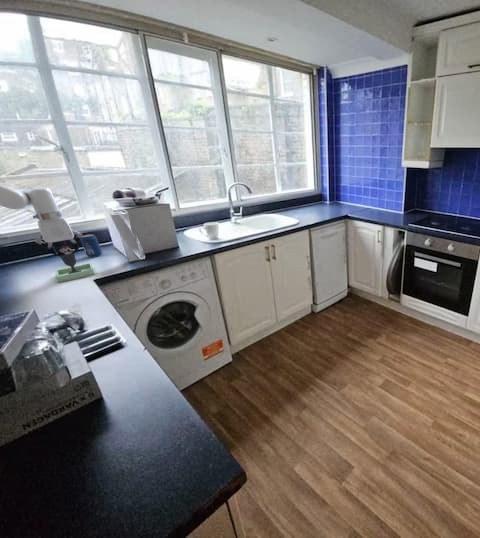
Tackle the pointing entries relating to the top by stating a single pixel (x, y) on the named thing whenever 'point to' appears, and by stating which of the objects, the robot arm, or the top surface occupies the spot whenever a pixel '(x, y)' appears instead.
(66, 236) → the robot arm
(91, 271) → the tray
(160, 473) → the top surface
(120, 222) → the skyscraper
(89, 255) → the soda can
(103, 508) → the top surface
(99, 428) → the top surface
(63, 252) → the sundae
